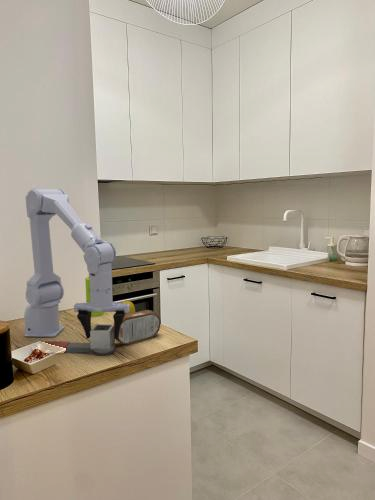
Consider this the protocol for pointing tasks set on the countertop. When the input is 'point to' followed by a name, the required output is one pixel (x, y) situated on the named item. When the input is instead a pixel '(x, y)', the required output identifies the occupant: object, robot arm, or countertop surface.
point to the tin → (138, 327)
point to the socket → (102, 336)
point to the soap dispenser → (89, 296)
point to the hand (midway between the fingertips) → (102, 337)
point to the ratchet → (81, 348)
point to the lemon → (132, 308)
